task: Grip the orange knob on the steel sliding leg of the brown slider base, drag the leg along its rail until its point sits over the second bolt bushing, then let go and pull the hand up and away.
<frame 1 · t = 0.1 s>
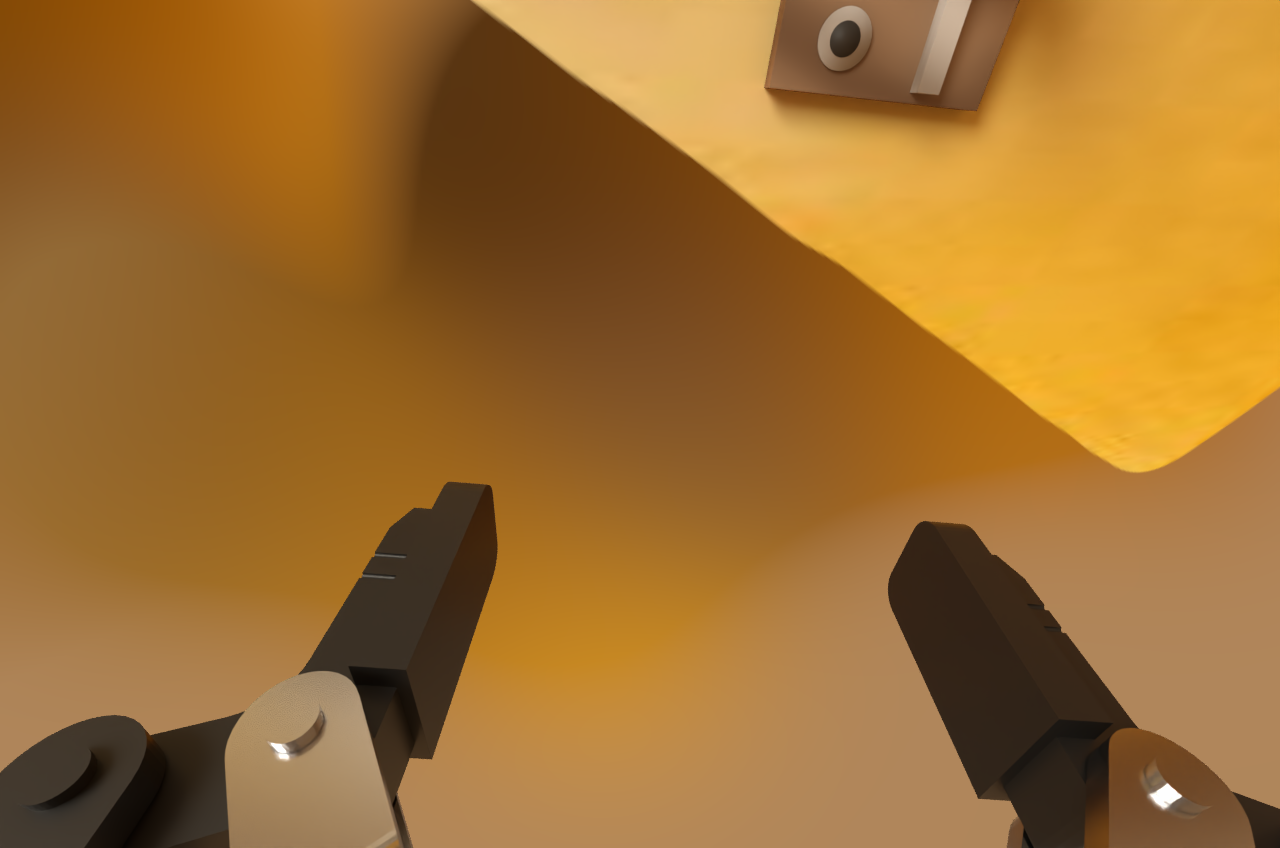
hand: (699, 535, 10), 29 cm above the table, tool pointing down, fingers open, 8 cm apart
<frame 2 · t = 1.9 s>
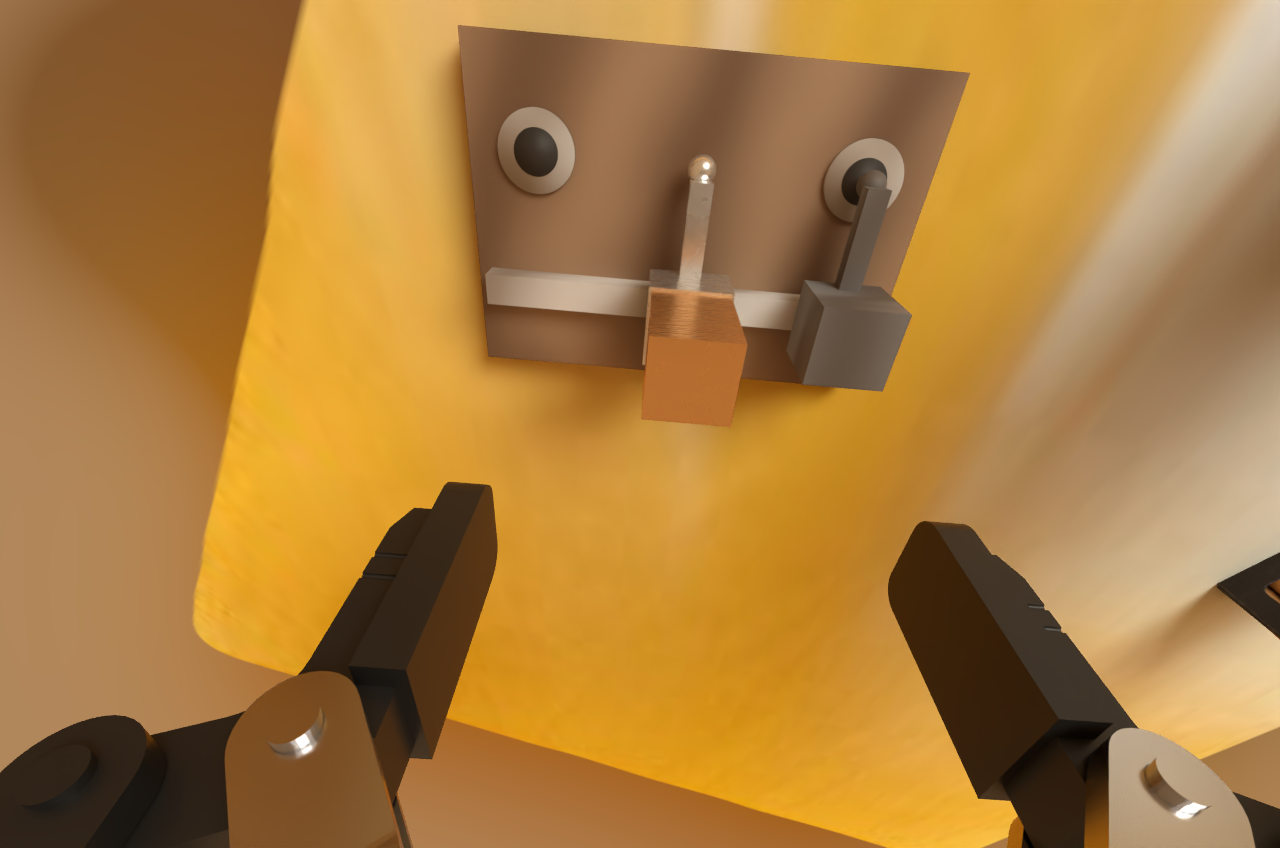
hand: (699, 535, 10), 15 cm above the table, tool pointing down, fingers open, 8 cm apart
sliding leg: (694, 281, 17), point 5 cm above the table, slide at 0.0 cm
brown slider base: (689, 228, 21), on the table
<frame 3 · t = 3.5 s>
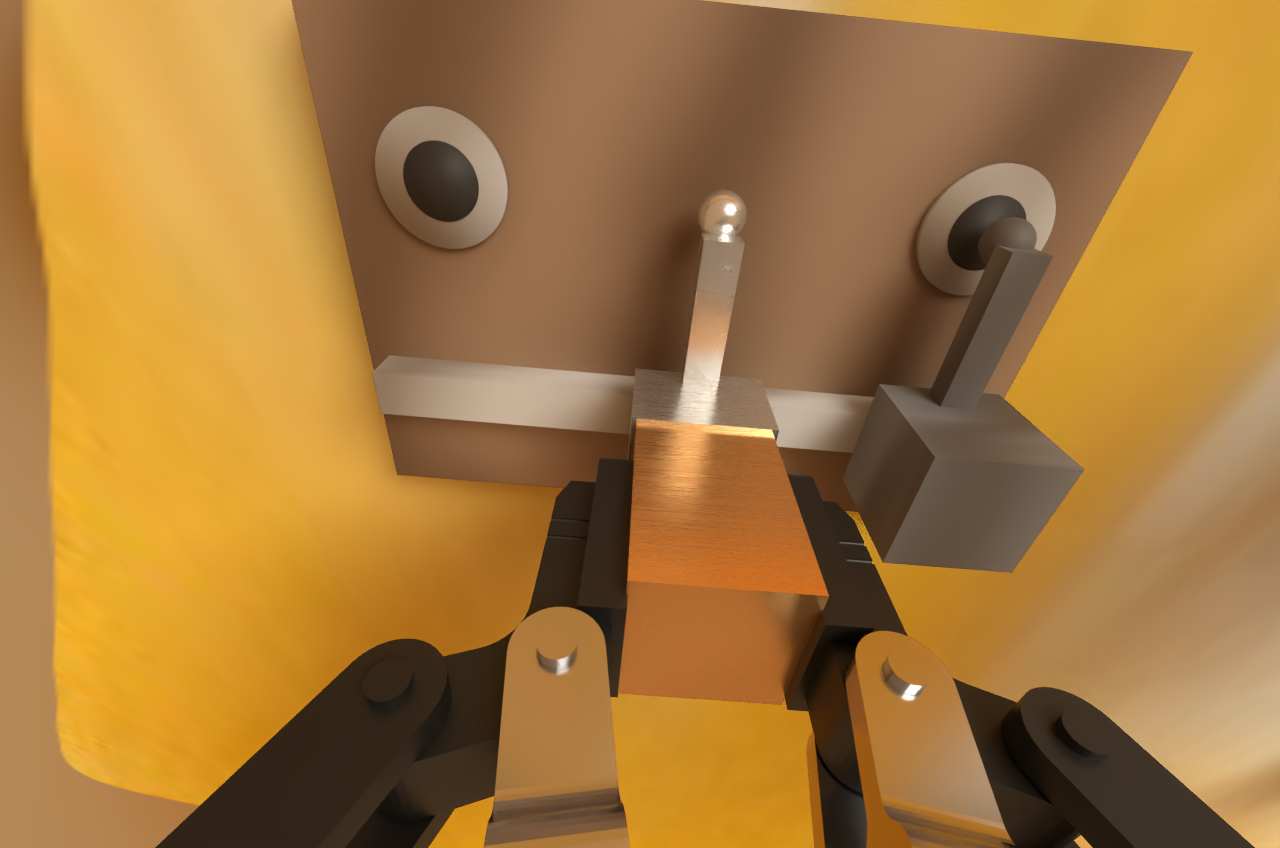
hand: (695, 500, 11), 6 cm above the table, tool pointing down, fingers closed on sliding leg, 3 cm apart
sliding leg: (712, 416, 10), point 5 cm above the table, slide at 0.0 cm, touching gripper
brown slider base: (695, 293, 14), on the table
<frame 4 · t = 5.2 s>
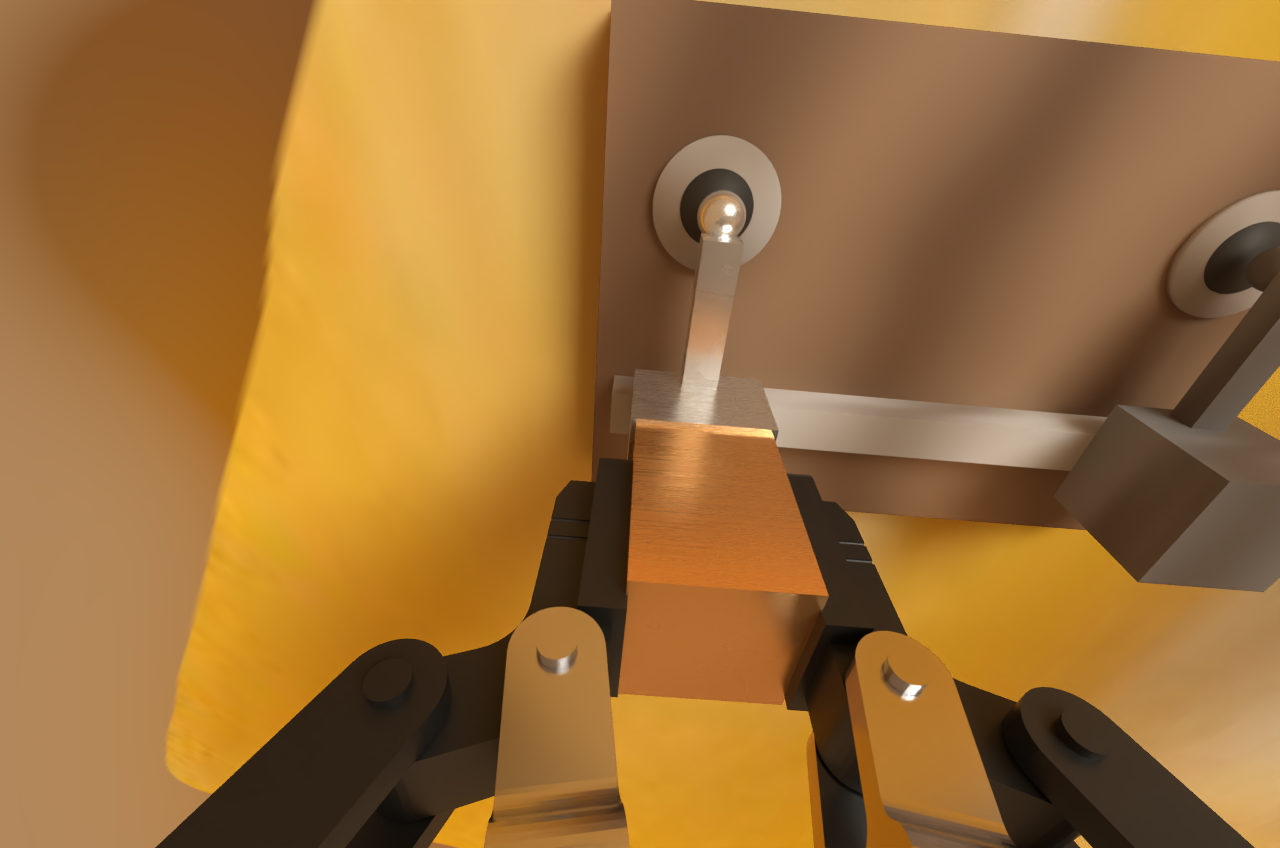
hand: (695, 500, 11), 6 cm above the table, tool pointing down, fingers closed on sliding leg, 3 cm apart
sliding leg: (711, 416, 10), point 5 cm above the table, slide at 6.0 cm, touching gripper
brown slider base: (910, 313, 14), on the table
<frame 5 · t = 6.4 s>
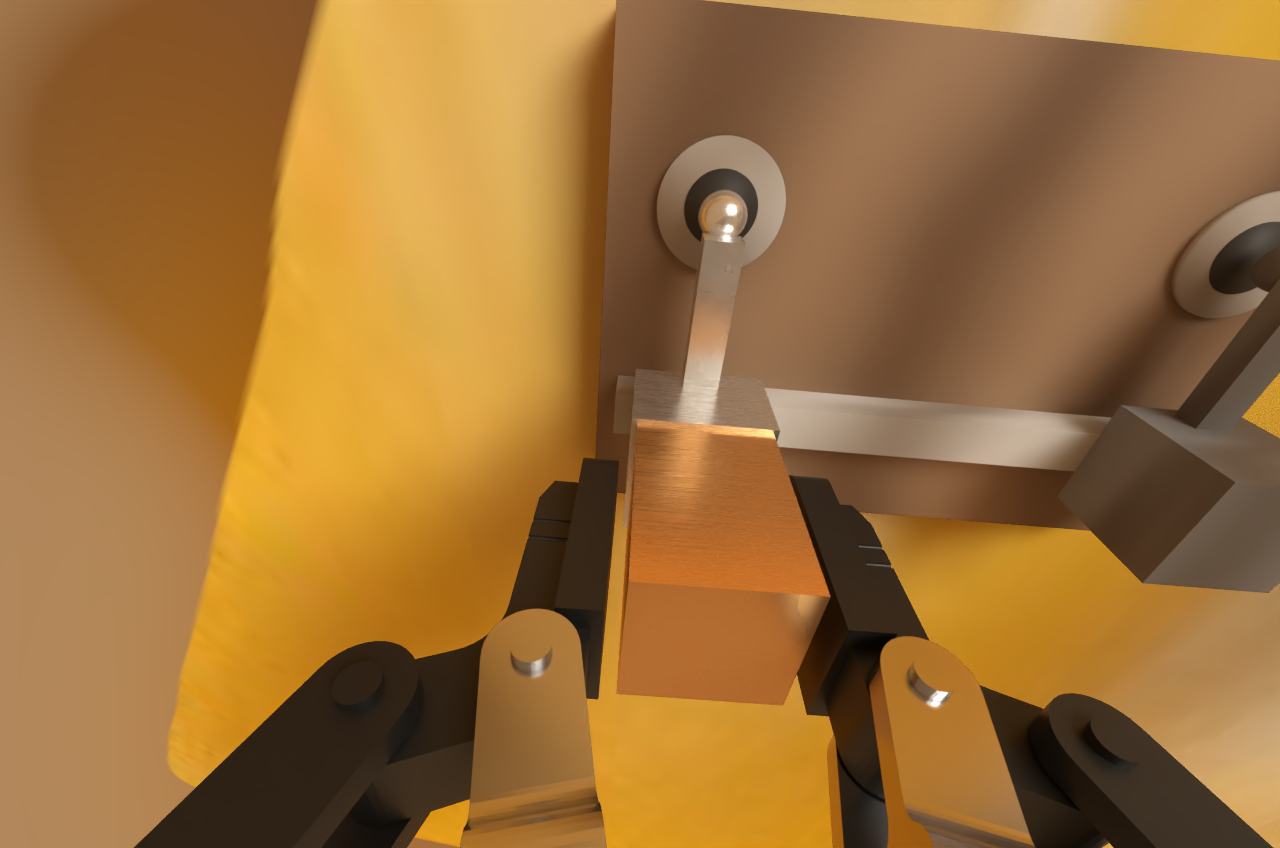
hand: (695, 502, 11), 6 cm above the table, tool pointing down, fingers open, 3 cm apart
sliding leg: (713, 416, 10), point 6 cm above the table, slide at 6.0 cm
brown slider base: (914, 313, 14), on the table
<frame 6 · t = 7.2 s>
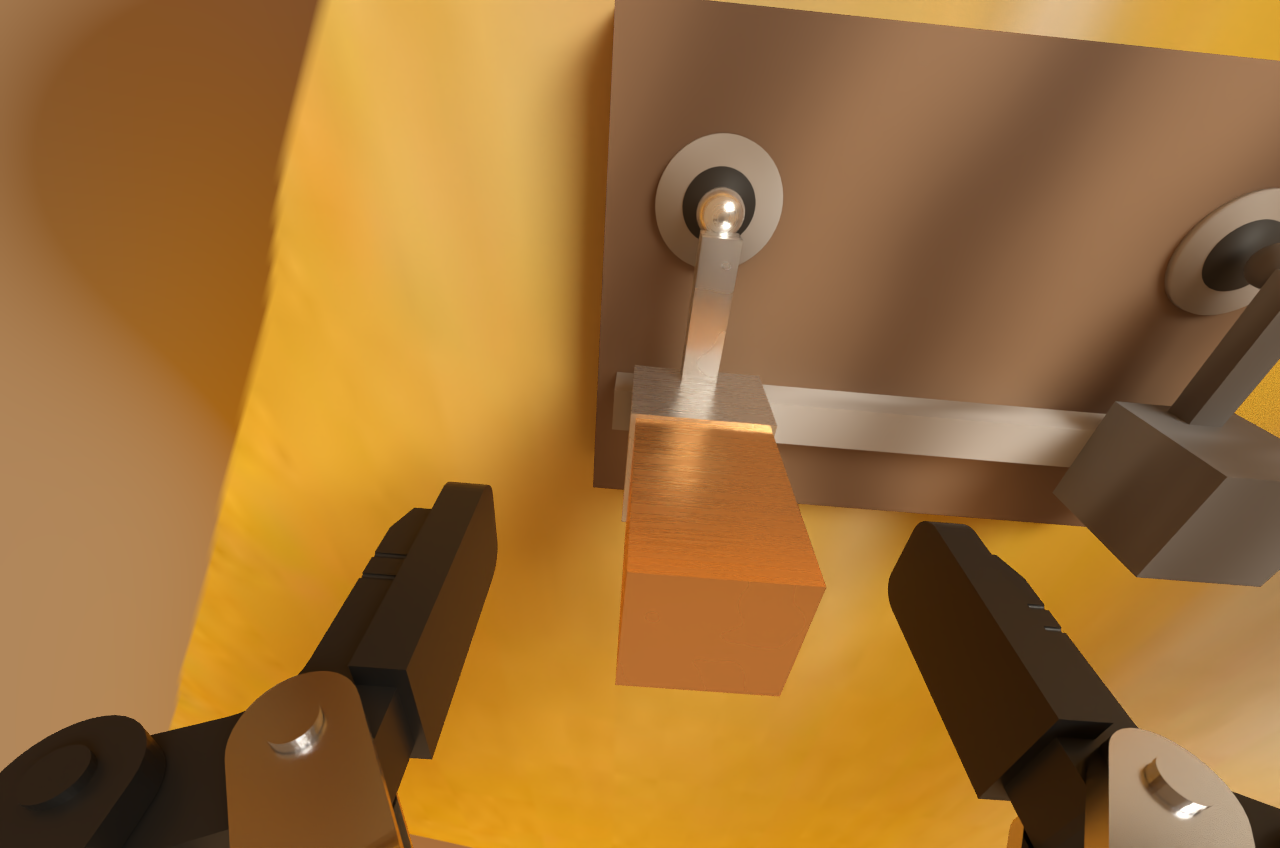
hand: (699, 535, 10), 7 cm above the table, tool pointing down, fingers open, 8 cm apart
sliding leg: (710, 411, 10), point 6 cm above the table, slide at 6.0 cm
brown slider base: (911, 311, 14), on the table
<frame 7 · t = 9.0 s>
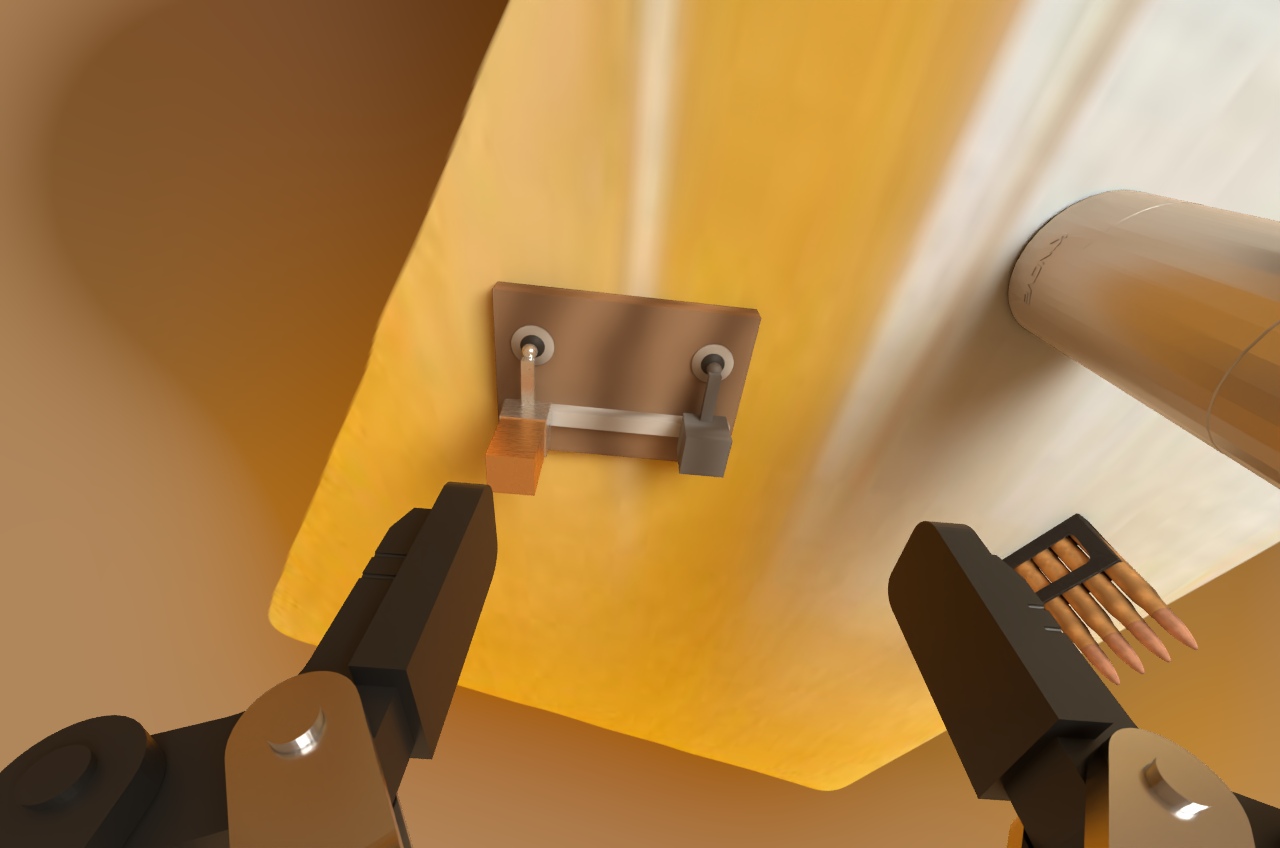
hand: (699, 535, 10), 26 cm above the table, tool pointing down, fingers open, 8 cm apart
sliding leg: (521, 415, 32), point 6 cm above the table, slide at 6.0 cm
ammunition clip: (1025, 550, 47), on the table
brown slider base: (621, 376, 37), on the table
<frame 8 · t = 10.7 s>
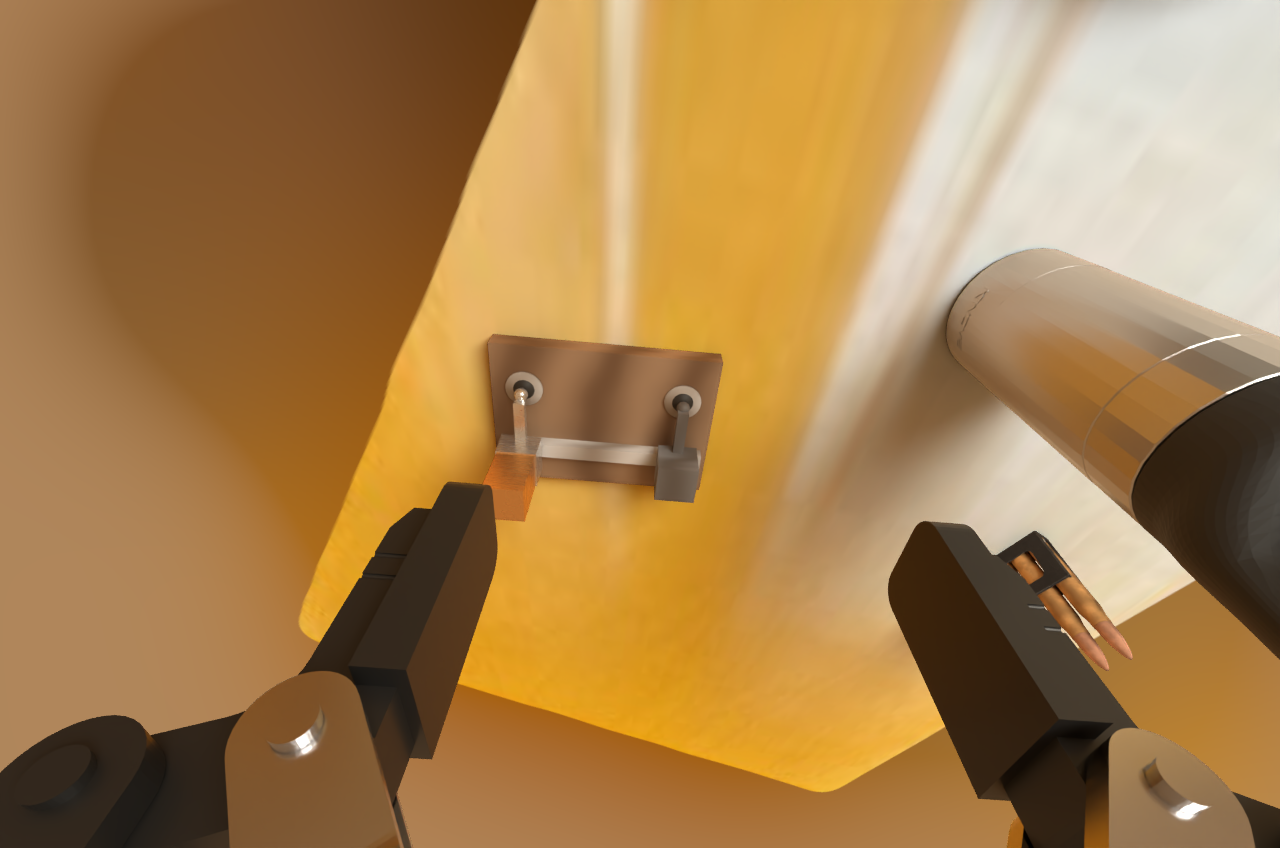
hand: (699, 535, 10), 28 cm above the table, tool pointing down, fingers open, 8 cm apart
sliding leg: (513, 451, 37), point 6 cm above the table, slide at 6.0 cm
ammunition clip: (989, 564, 50), on the table
brown slider base: (604, 412, 41), on the table
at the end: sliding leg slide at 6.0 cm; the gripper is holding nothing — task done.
